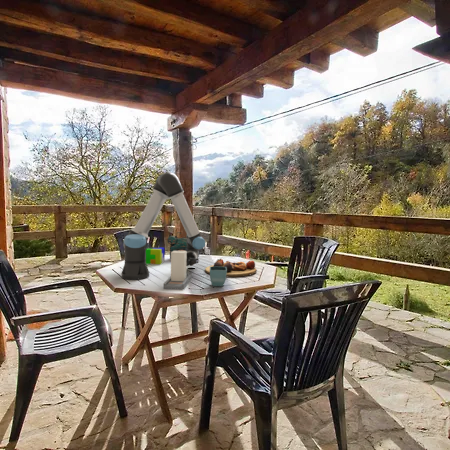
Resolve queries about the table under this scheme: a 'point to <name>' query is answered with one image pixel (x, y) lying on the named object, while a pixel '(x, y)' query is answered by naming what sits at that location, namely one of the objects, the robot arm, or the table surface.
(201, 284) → the table surface
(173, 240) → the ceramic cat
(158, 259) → the puzzle toy
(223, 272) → the flower pot
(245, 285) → the table surface
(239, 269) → the wooden plate with food
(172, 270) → the cream block
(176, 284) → the grey chute
